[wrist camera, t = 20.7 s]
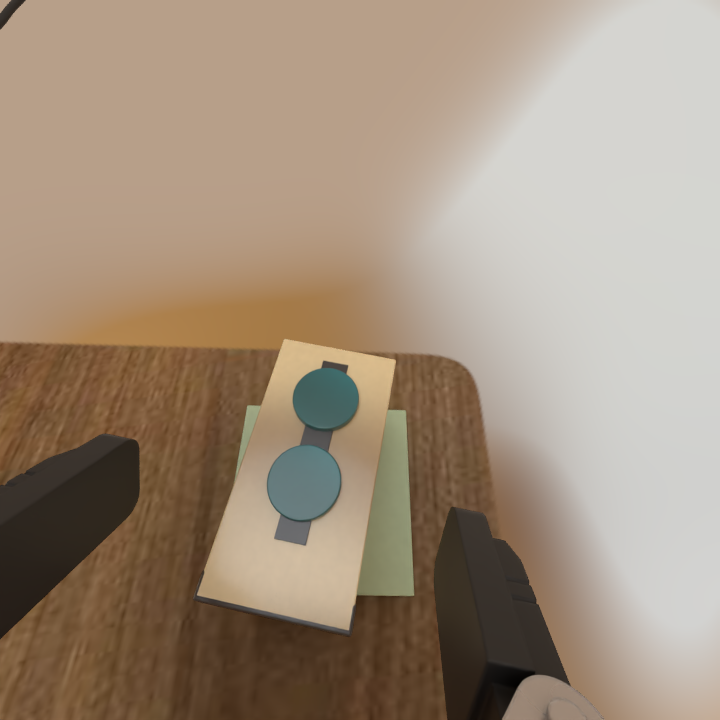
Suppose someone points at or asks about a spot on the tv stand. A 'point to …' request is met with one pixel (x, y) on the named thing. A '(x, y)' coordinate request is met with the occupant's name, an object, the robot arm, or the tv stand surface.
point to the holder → (304, 492)
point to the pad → (380, 512)
